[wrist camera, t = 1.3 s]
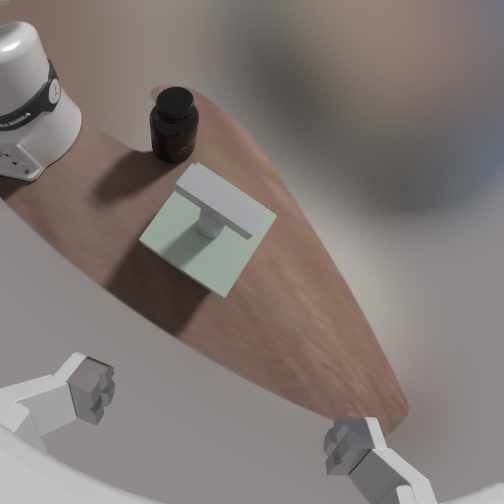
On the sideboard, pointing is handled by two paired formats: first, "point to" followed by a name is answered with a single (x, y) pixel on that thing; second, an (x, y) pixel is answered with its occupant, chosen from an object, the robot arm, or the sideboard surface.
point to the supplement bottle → (174, 125)
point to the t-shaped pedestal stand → (208, 229)
